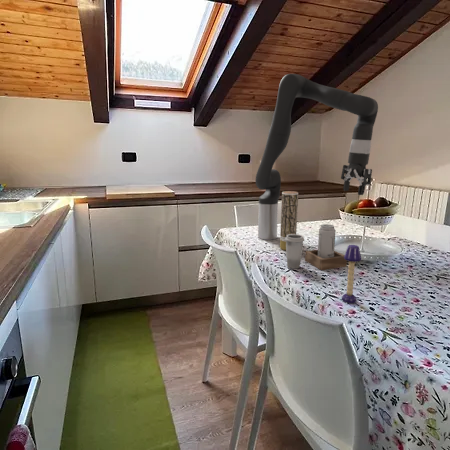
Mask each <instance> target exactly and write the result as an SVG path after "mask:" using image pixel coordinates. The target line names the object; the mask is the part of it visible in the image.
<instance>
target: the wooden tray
mask: <svg viewBox="0 0 450 450" xmlns="http://www.w3.org/2000/svg"><path fill="white" fill-rule="evenodd" d="M304 252H305V253H304V255H305V256H304V261H305V262H306V263H308V264H310V265H311V266H313V267H315V268H317V269H318V270H320V271H325V270H332V269H339V268H346V267H347V260H345V259H344V256H345V254H342V253H340V252H338V251H336V250H334V257H331V258H321V257H319V256H318V249H313V250H306V251H304Z"/></svg>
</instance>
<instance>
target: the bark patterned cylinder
mask: <svg viewBox="0 0 450 450" xmlns="http://www.w3.org/2000/svg"><path fill="white" fill-rule="evenodd" d="M298 206H299V192H298V191H292V190H291V191H290V190H287V191H282V192H281V209H280V210H281V211H280V212H281V213H280V237H279V238H280V239H279V242H280V243H279V248H280V250H283V251H286V240H285V238H286V236H287V235H289V234H297V230H298V229H297V228H298V226H297V225H298Z"/></svg>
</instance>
